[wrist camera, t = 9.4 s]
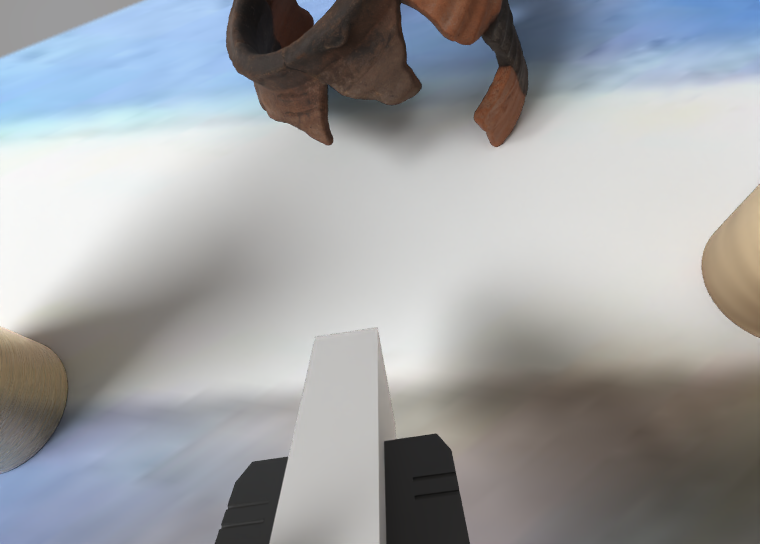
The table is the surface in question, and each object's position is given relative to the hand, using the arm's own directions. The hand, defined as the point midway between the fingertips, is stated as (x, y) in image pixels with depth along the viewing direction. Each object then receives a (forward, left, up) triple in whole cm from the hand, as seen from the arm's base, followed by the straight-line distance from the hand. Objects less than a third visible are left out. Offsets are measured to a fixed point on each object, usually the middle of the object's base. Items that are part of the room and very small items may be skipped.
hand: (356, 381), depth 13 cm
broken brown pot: (+10, -9, -4) cm, 14 cm away
